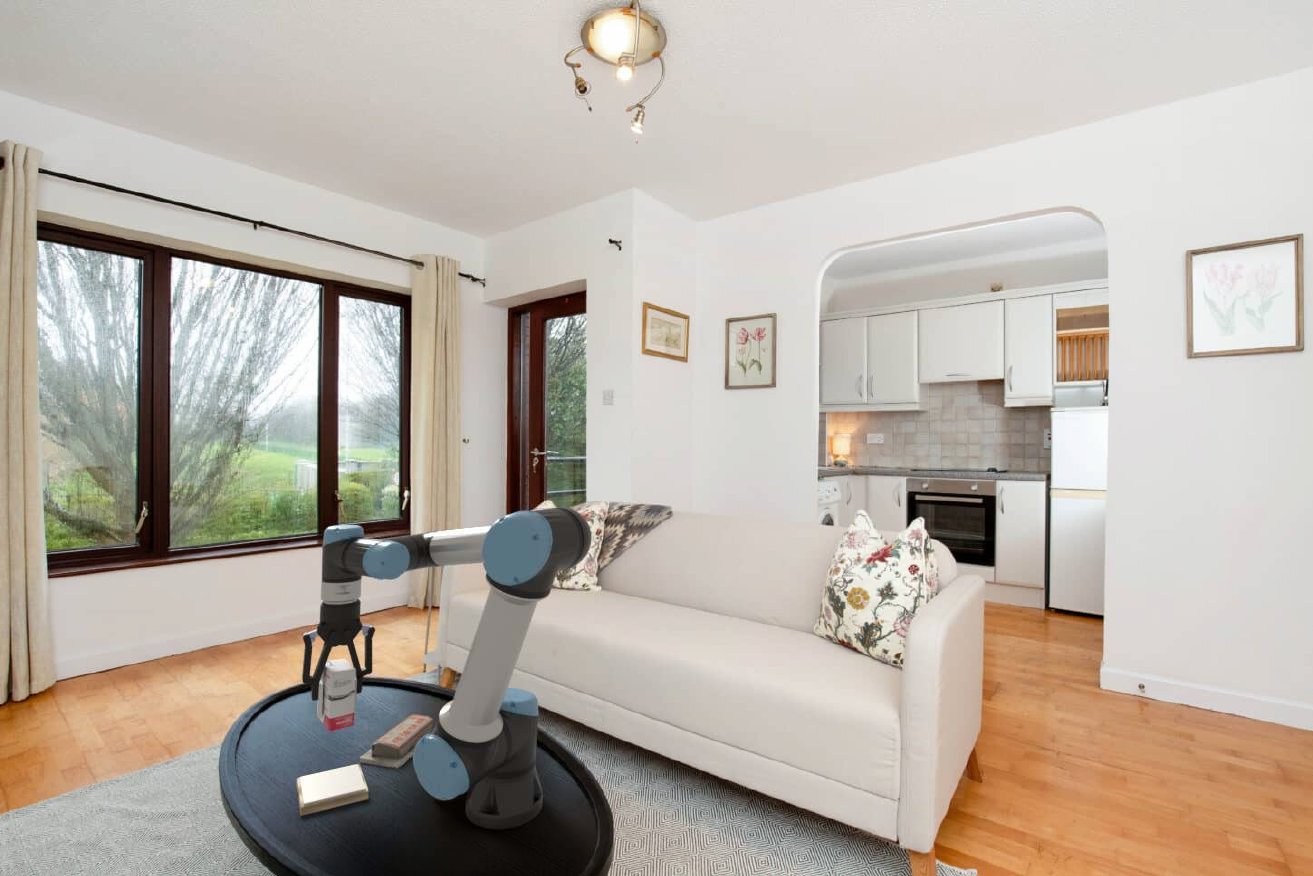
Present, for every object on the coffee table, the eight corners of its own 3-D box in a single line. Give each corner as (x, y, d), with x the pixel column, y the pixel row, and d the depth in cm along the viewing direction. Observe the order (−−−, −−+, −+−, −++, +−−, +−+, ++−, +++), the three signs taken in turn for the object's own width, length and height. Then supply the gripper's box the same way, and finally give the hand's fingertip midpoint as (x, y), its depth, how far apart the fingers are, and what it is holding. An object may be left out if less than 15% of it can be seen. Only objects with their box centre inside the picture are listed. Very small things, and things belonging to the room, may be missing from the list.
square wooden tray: (368, 798, 127) (368, 789, 127) (300, 816, 120) (301, 805, 120) (359, 771, 137) (359, 762, 137) (296, 786, 130) (297, 776, 130)
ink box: (355, 725, 128) (357, 668, 128) (328, 732, 124) (330, 673, 124) (342, 711, 134) (345, 656, 134) (317, 718, 131) (319, 661, 131)
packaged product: (405, 710, 158) (441, 715, 156) (404, 729, 158) (440, 734, 156) (359, 743, 140) (399, 749, 139) (358, 765, 140) (398, 771, 139)
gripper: (289, 609, 121) (284, 728, 121) (391, 599, 131) (387, 710, 131) (288, 600, 128) (283, 714, 127) (386, 592, 138) (381, 697, 137)
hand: (336, 711), depth 129 cm, fingers closed on ink box, 5 cm apart
